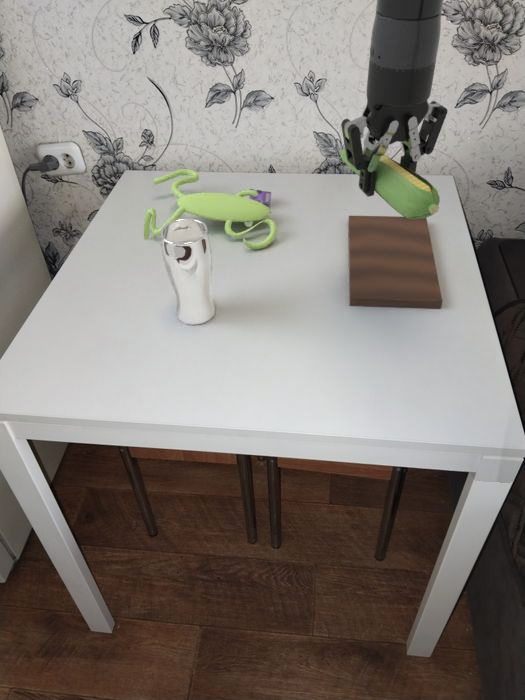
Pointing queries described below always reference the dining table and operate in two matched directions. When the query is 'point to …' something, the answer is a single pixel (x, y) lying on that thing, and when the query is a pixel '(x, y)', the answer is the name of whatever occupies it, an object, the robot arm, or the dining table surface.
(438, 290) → the serving board
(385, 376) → the dining table surface
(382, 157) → the edible corn
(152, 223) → the figurine
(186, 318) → the beer glass
